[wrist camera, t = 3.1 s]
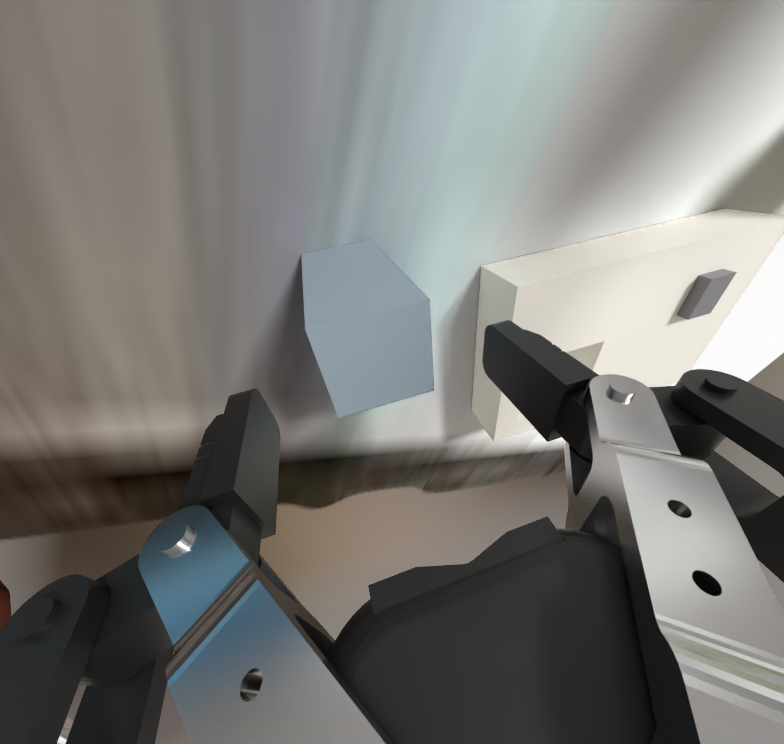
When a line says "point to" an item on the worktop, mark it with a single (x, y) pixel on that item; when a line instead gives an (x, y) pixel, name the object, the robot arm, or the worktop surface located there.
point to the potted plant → (4, 605)
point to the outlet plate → (624, 300)
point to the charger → (366, 327)
